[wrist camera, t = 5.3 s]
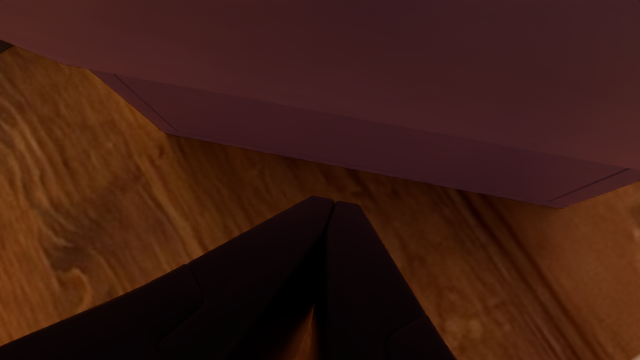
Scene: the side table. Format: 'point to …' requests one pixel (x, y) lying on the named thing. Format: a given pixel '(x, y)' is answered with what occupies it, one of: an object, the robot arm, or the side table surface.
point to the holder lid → (378, 60)
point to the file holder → (370, 145)
